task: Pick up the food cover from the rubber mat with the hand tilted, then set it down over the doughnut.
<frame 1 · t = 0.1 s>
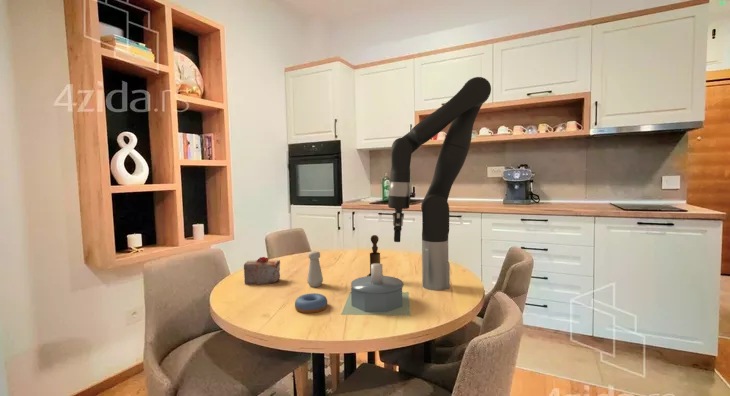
hand: (397, 239, 125), 17 cm above the table, tool pointing down, fingers open, 8 cm apart
food cover: (377, 302, 109), resting on rubber mat
doughnut: (311, 310, 106), on the table
dark brown tall piece: (375, 282, 133), on the table
food item: (263, 282, 136), on the table
salt shaker: (315, 286, 129), on the table
rubber mat: (377, 303, 109), on the table
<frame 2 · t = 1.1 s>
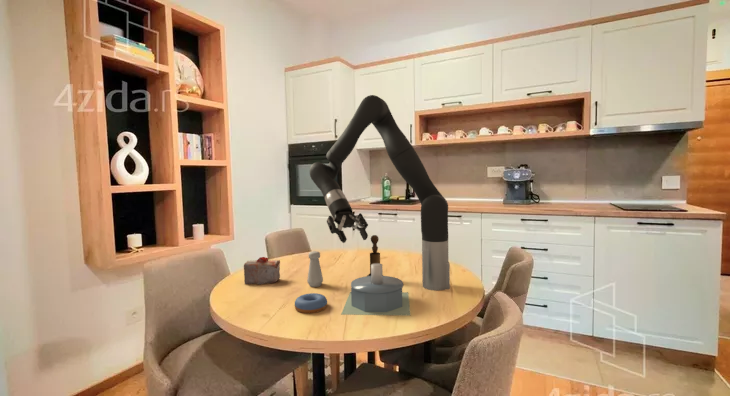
hand: (355, 240, 118), 19 cm above the table, tool tilted 45°, fingers open, 8 cm apart
nothing on the table moved.
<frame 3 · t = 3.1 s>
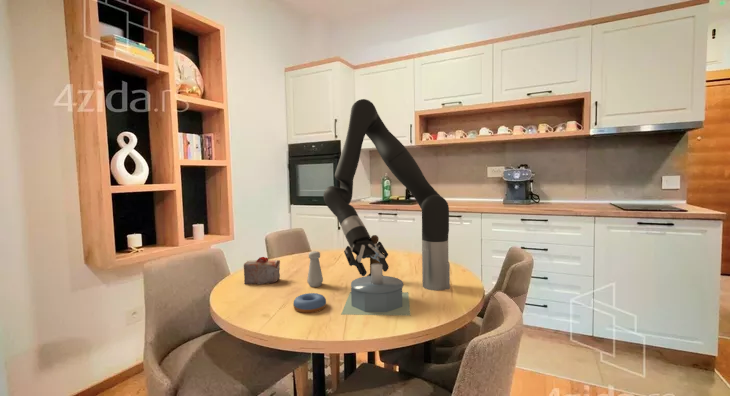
hand: (375, 272, 109), 10 cm above the table, tool tilted 45°, fingers open, 8 cm apart
nothing on the table moved.
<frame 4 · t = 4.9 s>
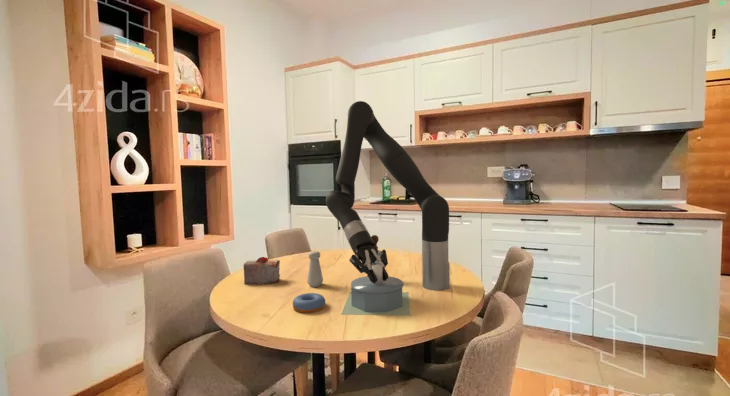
hand: (380, 280, 107), 8 cm above the table, tool tilted 45°, fingers closed on food cover, 3 cm apart
food cover: (377, 302, 109), resting on rubber mat, touching gripper
everything else where it was.
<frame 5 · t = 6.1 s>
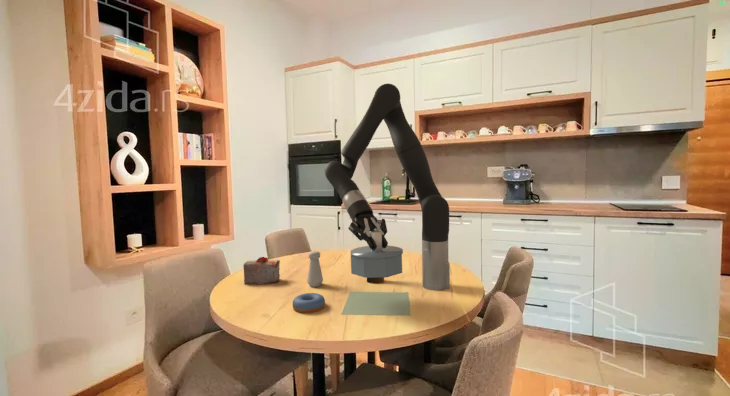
hand: (380, 247, 107), 18 cm above the table, tool tilted 45°, fingers closed on food cover, 3 cm apart
food cover: (377, 270, 109), point 11 cm above the table, touching gripper
everything else where it was.
when the fingers open (9 cm above the table, at t = 11.7 s): food cover drops 1 cm, on the table.
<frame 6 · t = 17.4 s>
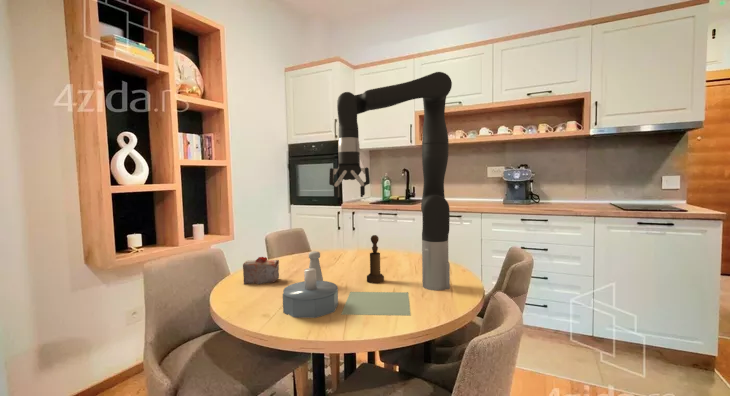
hand: (350, 197, 123), 33 cm above the table, tool pointing down, fingers open, 8 cm apart
food cover: (311, 308, 106), on the table
at the end: food cover 1.7 cm from the doughnut (horizontally); food cover on the table; food cover tilted 0° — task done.
